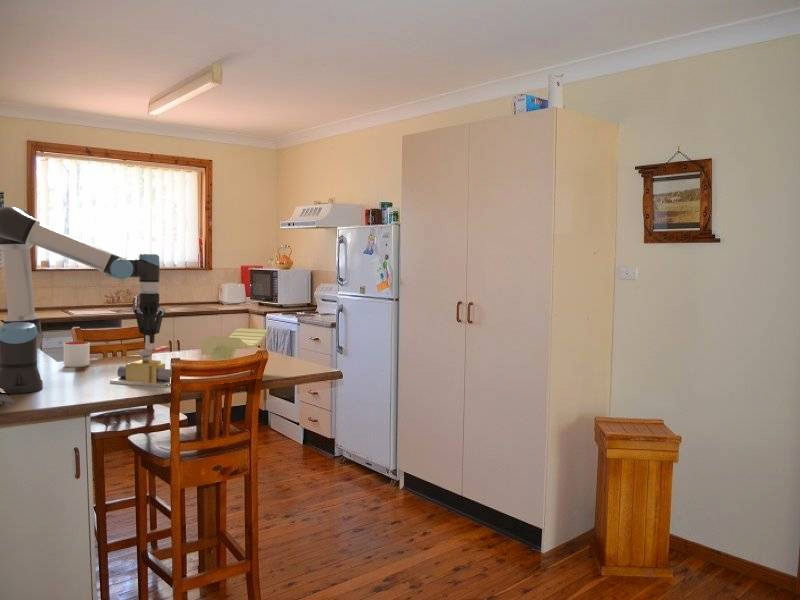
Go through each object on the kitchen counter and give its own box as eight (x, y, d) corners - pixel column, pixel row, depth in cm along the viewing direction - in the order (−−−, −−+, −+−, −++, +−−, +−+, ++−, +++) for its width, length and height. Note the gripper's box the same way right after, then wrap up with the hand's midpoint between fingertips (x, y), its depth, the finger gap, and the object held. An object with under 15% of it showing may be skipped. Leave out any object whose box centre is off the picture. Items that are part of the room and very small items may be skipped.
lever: (147, 356, 239) (147, 351, 238) (137, 355, 239) (137, 350, 239) (171, 349, 255) (171, 345, 255) (162, 349, 256) (162, 345, 256)
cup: (82, 368, 266) (82, 345, 265) (58, 367, 266) (58, 344, 265) (94, 364, 276) (94, 341, 275) (71, 363, 276) (71, 341, 275)
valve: (179, 381, 246) (180, 354, 245) (163, 387, 234) (163, 359, 233) (129, 377, 250) (129, 351, 249) (109, 383, 238) (110, 356, 237)
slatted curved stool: (232, 367, 279) (233, 327, 278) (266, 369, 276) (267, 329, 275) (200, 380, 249) (201, 335, 248) (238, 382, 247) (239, 337, 246)
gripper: (169, 292, 252) (169, 350, 253) (140, 291, 255) (140, 348, 256) (158, 293, 245) (158, 353, 246) (128, 292, 247) (128, 351, 249)
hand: (149, 351), depth 251 cm, fingers closed
